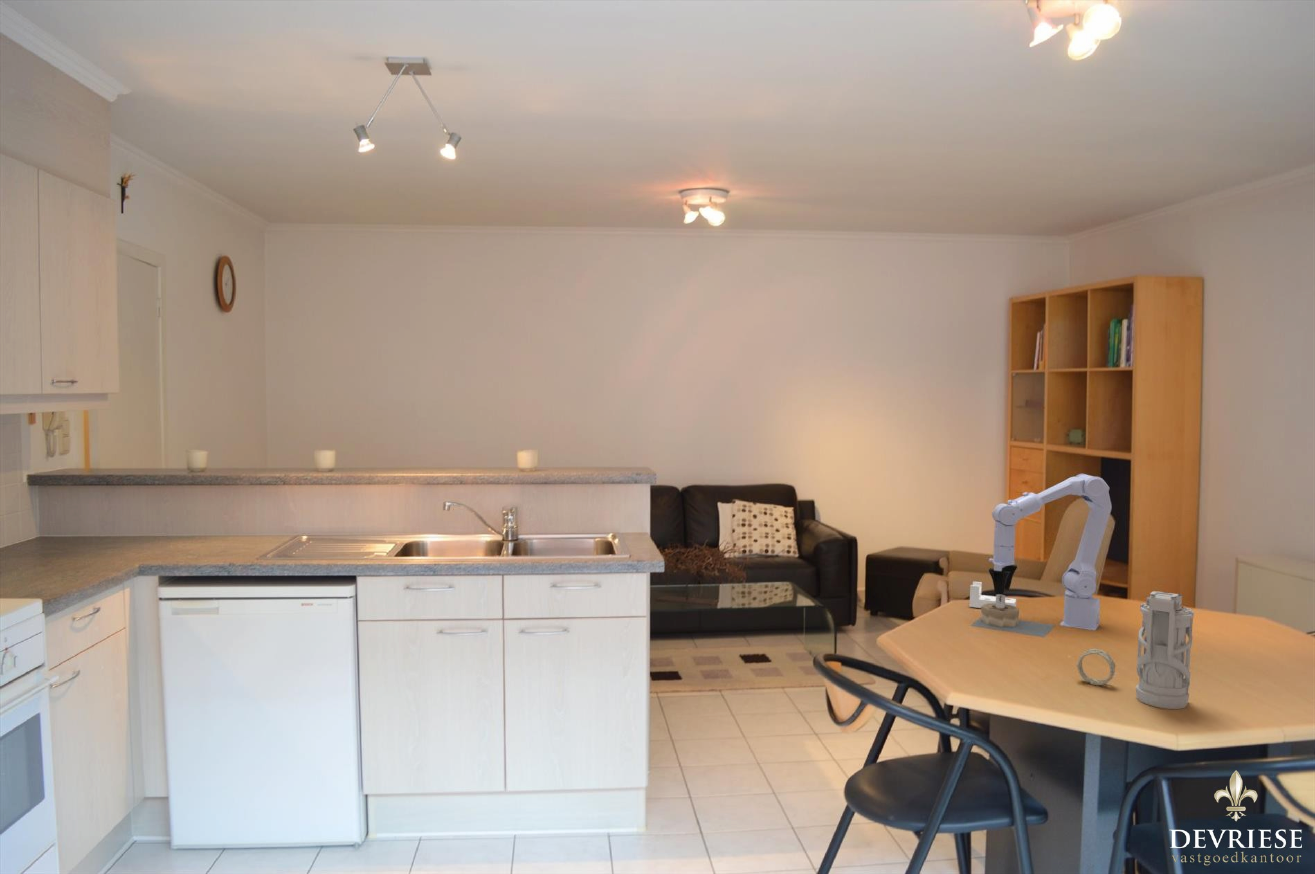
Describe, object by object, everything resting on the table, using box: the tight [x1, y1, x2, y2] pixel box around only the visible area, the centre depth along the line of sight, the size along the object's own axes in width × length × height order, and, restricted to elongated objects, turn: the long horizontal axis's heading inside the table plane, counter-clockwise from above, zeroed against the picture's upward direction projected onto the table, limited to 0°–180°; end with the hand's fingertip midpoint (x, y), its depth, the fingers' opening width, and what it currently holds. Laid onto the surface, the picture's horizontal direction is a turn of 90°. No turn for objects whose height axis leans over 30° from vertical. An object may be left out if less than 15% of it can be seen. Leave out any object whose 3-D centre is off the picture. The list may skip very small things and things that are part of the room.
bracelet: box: [1076, 648, 1116, 686], centre depth 220 cm, size 4×8×8 cm, turn 54°
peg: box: [995, 594, 1006, 609], centre depth 275 cm, size 3×3×8 cm
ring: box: [980, 603, 1020, 627], centre depth 275 cm, size 10×10×4 cm
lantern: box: [1135, 590, 1195, 710], centre depth 207 cm, size 13×10×25 cm
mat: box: [970, 617, 1056, 638], centre depth 272 cm, size 20×16×1 cm
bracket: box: [969, 581, 1017, 609], centre depth 293 cm, size 13×7×8 cm, turn 65°
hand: (1002, 591), depth 275 cm, fingers open, 7 cm apart
